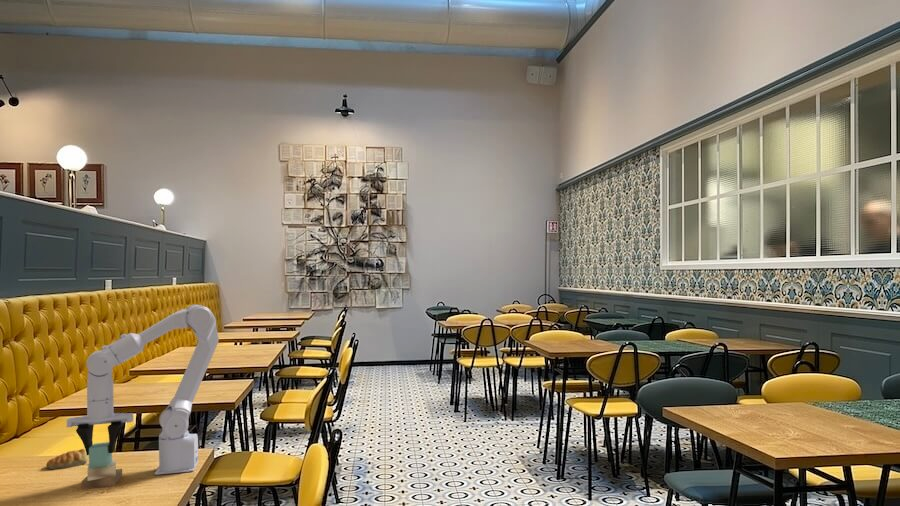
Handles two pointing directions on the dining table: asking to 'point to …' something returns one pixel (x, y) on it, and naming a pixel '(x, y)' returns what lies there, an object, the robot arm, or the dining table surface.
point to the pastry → (68, 460)
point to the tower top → (102, 471)
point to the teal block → (99, 455)
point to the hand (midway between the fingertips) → (100, 452)
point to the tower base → (102, 481)
